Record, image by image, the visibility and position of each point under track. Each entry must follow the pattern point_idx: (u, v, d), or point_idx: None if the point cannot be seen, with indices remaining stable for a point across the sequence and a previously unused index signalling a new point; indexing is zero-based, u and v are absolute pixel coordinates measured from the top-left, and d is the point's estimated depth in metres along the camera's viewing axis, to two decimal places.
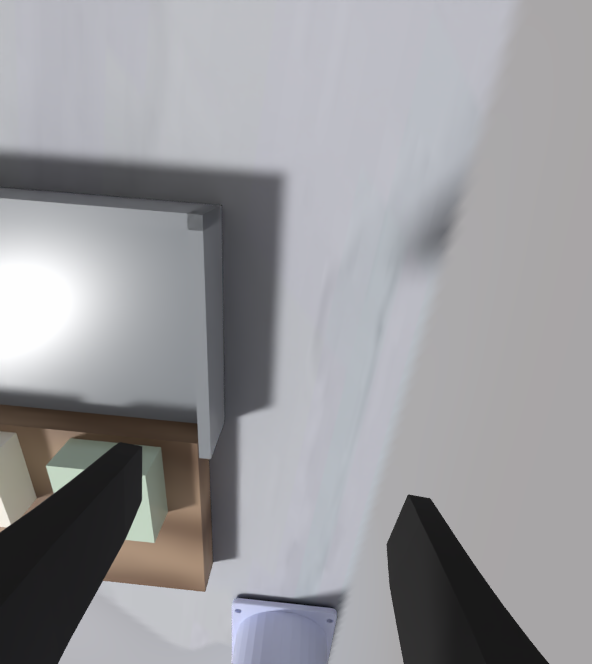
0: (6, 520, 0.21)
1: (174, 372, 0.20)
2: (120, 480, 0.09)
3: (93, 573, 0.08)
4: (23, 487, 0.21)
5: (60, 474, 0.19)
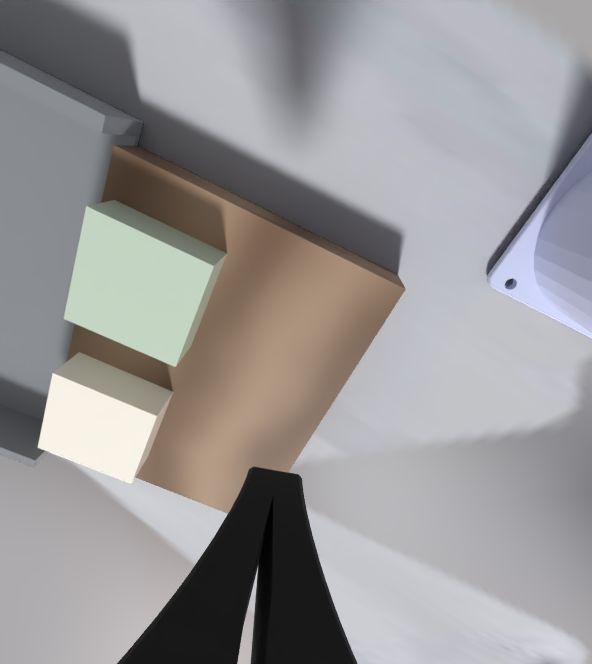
0: (144, 413, 0.18)
1: (52, 146, 0.16)
2: (270, 507, 0.09)
3: None
4: (139, 386, 0.19)
5: (77, 311, 0.16)
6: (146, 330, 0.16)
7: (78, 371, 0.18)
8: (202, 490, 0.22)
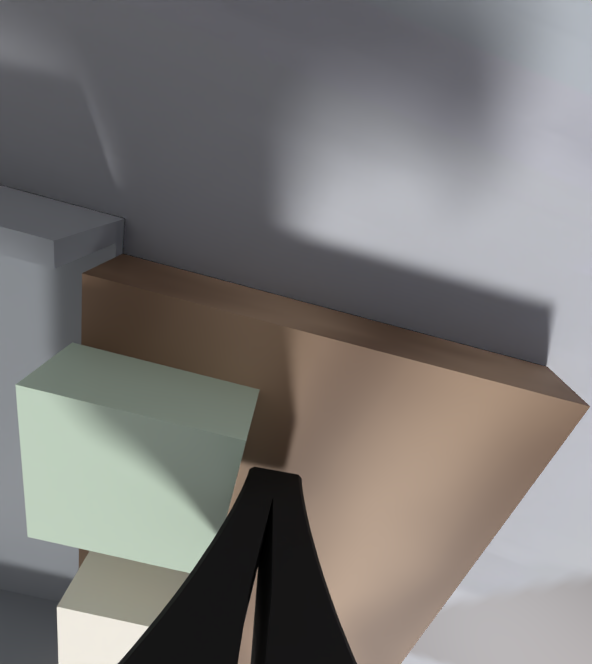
0: None
1: None
2: (270, 507, 0.09)
3: (249, 600, 0.08)
4: None
5: (45, 525, 0.10)
6: (155, 537, 0.10)
7: (94, 586, 0.12)
8: None
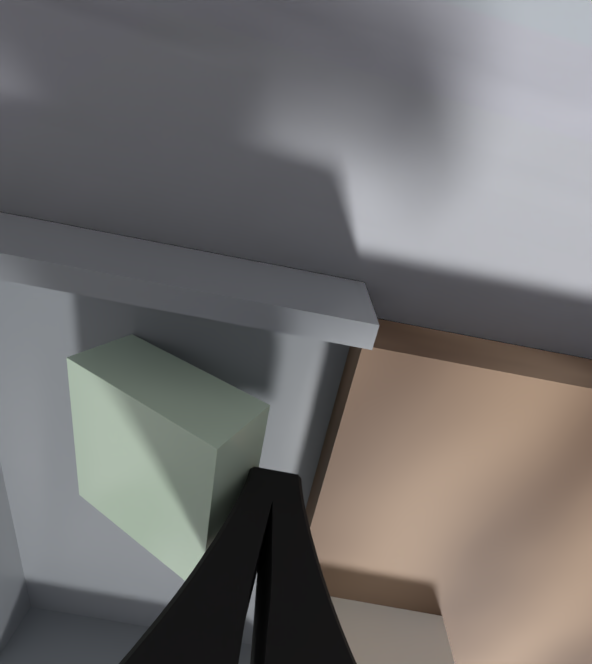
0: None
1: (236, 346, 0.11)
2: (270, 507, 0.09)
3: (249, 600, 0.08)
4: (403, 627, 0.13)
5: (88, 488, 0.11)
6: (156, 530, 0.10)
7: None
8: None
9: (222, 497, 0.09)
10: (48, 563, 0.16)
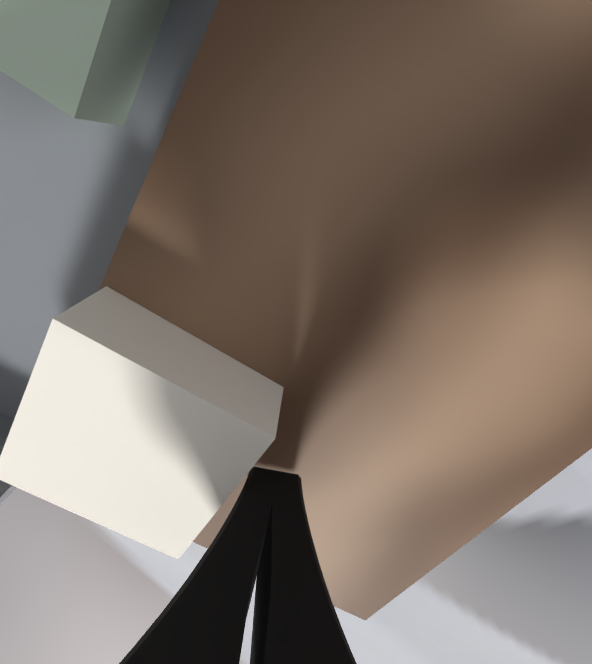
0: (247, 430, 0.08)
1: None
2: (271, 507, 0.09)
3: (249, 600, 0.08)
4: (226, 369, 0.09)
5: None
6: None
7: (108, 323, 0.08)
8: None
9: None
10: None
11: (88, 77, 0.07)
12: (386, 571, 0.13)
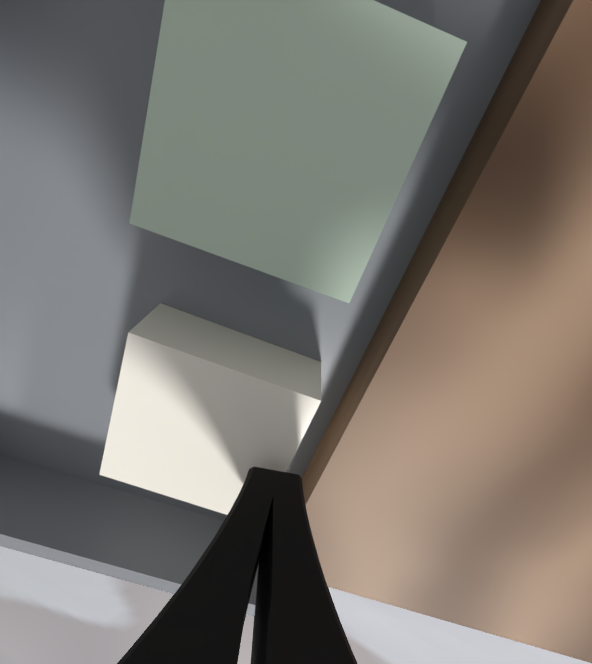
0: (296, 398, 0.10)
1: None
2: (270, 507, 0.09)
3: (248, 600, 0.08)
4: (270, 353, 0.11)
5: (157, 202, 0.08)
6: (297, 228, 0.08)
7: (169, 330, 0.10)
8: (522, 623, 0.13)
9: None
10: (12, 379, 0.12)
11: (361, 270, 0.08)
12: None
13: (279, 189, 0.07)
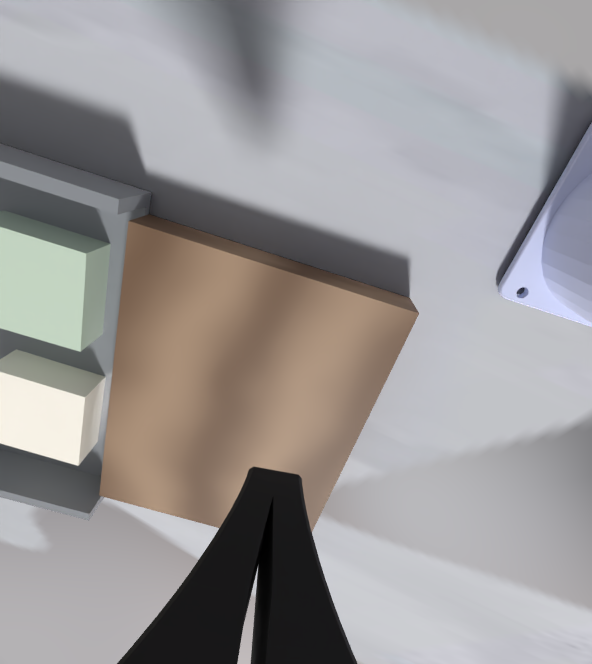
0: (73, 396, 0.19)
1: (71, 226, 0.18)
2: (270, 507, 0.09)
3: (248, 600, 0.08)
4: (71, 373, 0.20)
5: None
6: (46, 321, 0.18)
7: (12, 365, 0.20)
8: None
9: (89, 289, 0.17)
10: None
11: (81, 337, 0.18)
12: None
13: (34, 306, 0.17)
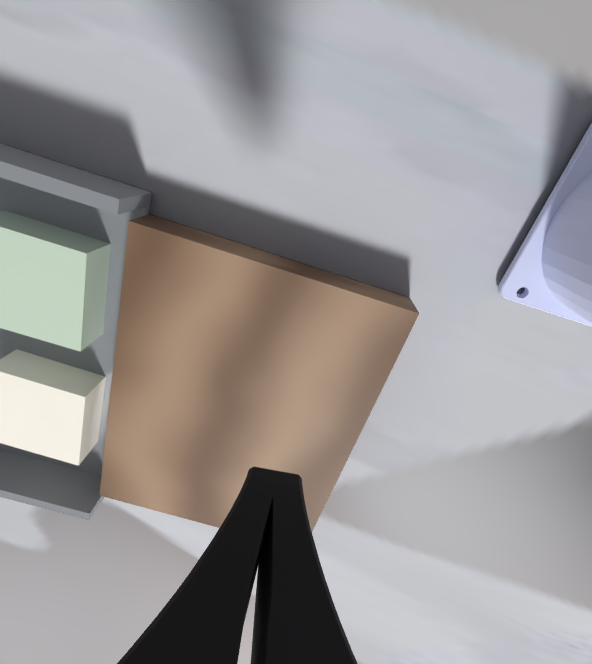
0: (73, 396, 0.19)
1: (72, 226, 0.18)
2: (270, 507, 0.09)
3: (248, 600, 0.08)
4: (71, 373, 0.20)
5: None
6: (47, 321, 0.18)
7: (13, 365, 0.20)
8: None
9: (89, 289, 0.17)
10: None
11: (82, 337, 0.18)
12: None
13: (34, 306, 0.17)
